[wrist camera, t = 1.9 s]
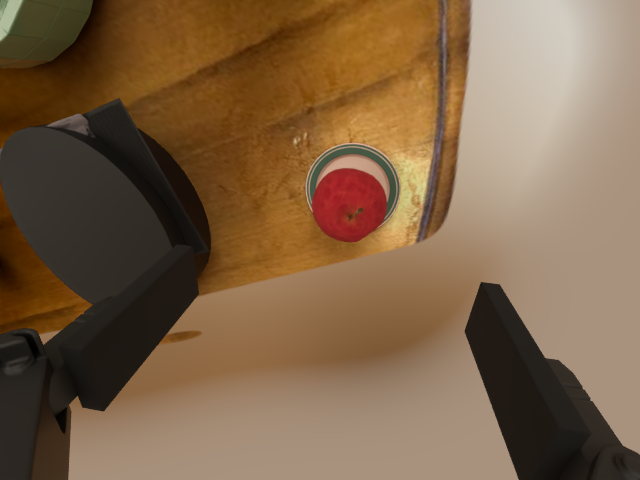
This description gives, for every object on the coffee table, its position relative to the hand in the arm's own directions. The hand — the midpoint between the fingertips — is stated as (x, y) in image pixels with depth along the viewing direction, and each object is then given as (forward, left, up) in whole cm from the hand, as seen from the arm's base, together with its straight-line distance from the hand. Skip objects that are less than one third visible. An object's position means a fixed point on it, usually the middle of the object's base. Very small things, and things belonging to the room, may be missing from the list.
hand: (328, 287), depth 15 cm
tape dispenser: (+20, +4, -15) cm, 25 cm away
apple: (0, 0, -15) cm, 15 cm away
